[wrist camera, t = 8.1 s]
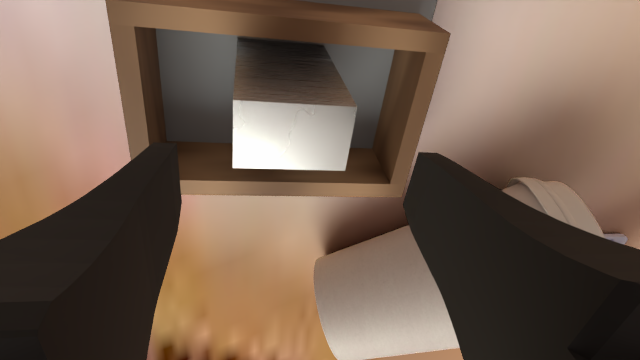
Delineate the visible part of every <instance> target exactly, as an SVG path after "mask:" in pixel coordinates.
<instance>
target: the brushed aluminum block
mask: <svg viewBox="0 0 640 360" xmlns="http://www.w3.org/2000/svg"><path fill="white" fill-rule="evenodd" d="M356 112H357V105H356V104H355V102H354V100H353V98H352V96H351V94H350V92H349V91H348V89H347V87H346V85H345V83H344V81H343V80H342V78H341V76H340V74H339V72H338V70H337V68H336V67H335V65H334V63H333V61H332V59H331V57H330V56H329V54H328V52H327V50H326V48H325V46H324V45H314V44H303V43H292V42H280V41H269V40H257V39H246V38H237V51H236V65H235V79H234V93H233V168H252V169H292V170H332V171H345V169H346V164H347V159H348V154H349V149H350V143H351V138H352V133H353V128H354V123H355V117H356Z"/></svg>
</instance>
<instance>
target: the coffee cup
mask: <svg viewBox="0 0 640 360" xmlns="http://www.w3.org/2000/svg"><path fill="white" fill-rule="evenodd" d="M501 191H503V192H505V193H506V194H508V195H510V196H512V197H514V198H515V199H517V200H519V201H521V202H523V203H524V204H526V205H528V206H530V207H532V208H534V209H536V210H538V211H540V212H543V213H545V214H547V215H549V216H551V217H553V218H555V219H558V220H560V221H562V222H564V223H567V224H569V225H572V226H574V227H577V228H579V229H582V230H584V231H587V232H589V233H592V234H595V235H597V236H600V237H603V238H605V236H604V234H603V232H602V230H601V228H600V226H599V225H598V223H597V221H596V219H595V218H594V216H593V215H592V213H591V211H590V210H589V209H588V207H587V206H586V204H585V203H584V202H583V201H582V199H581V198H580V197H579V196H578V195H577V194H576V193H575V192H574V191H573V190H572V189H571V188H570V187H568V186H567V185H565V184H564V183H562V182H559V181H544V182H543V181H541V180H539V179H536V178H528V177H519V178H512V179H510V180H509V182H508V185H507V188H506V189H503V190H501ZM314 290H315V297H316V303H317V308H318V313H319V317H320V321H321V325H322V328H323V331H324V334H325V337H326V339H327V342H328V344H329V347H330V349H331V351H332V352H333V354H334V356H335V357H336V358H337V359H338V360H364V359H372V358H380V357H388V356H396V355H404V354H412V353H421V352H428V351H437V350H445V349H453V348H460V347H459V343H458V340H457V337H456V334H455V331H454V328H453V325H452V322H451V319H450V317H449V314H448V311H447V308H446V305H445V302H444V300H443V298H442V295H441V293H440V291H439V288H438V286H437V284H436V282H435V280H434V278H433V276H432V274H431V272H430V270H429V268H428V266H427V264H426V262H425V260H424V258H423V256H422V254H421V251H420V249H419V247H418V245H417V243H416V241H415V239H414V237H413V234H412V232H411V230H410V227H409V225H407V226H404V227H402V228H399V229H396V230H394V231H391V232H388V233H386V234H383V235H380V236H377V237H375V238H372V239H369V240H367V241H364V242H361V243H358V244H356V245H353V246H350V247H348V248H345V249H342V250H339V251H337V252H334V253H331V254H329V255H326V256H323V257H320V258H318V259H317V260H316V262H315V266H314Z"/></svg>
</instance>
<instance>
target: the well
mask: <svg viewBox="0 0 640 360" xmlns="http://www.w3.org/2000/svg"><path fill="white" fill-rule="evenodd" d="M105 1H106V7H107V13H108V20H109V26H110V32H111V38H112V44H113V51H114V57H115V63H116V69H117V76H118V82H119V88H120V94H121V101H122V107H123V113H124V119H125V125H126V132H127V138H128V144H129V150H130V157H131V160H133V159H134V158H135V157H136V156H137V155H139V154H140V153H141V152H142V151H143V150H145V149H146V148H147V147H148V146H149V145H151V144H152V143H153V142H159V143H177V152H178V164H179V176H180V188H181V195H252V196H335V197H402V194H403V191H404V188H405V184H406V181H407V178H408V174H409V171H410V168H411V164H412V161H413V158H414V154H415V151H416V148H417V144H418V141H419V138H420V134H421V131H422V128H423V124H424V121H425V118H426V114H427V111H428V108H429V104H430V101H431V98H432V94H433V91H434V88H435V84H436V81H437V78H438V74H439V71H440V68H441V64H442V61H443V58H444V54H445V51H446V47H447V44H448V41H449V37H450V33H449V32H447V31H446V30H444V29H442V28H441V27H439V26H438V25H436V24H435V23H433V22H432V21H430V20H428V19H427V18H425V17H424V16H422V15H421V14H417V13H408V12H399V11H390V10H381V9H371V8H362V7H353V6H344V5H335V4H325V3H316V2H307V1H298V0H105ZM156 28H158V29H170V30H181V31H192V32H204V33H215V34H226V35H237V36H249V37H260V38H271V39H282V40H294V41H305V42H316V43H327V44H339V45H350V46H361V47H372V48H384V49H395V51H394V55H393V60H392V64H391V68H390V73H389V77H388V81H387V86H386V90H385V95H384V99H383V103H382V108H381V112H380V116H379V121H378V125H377V130H376V134H375V138H374V143H373V147H372V149H370V148H350V149H349V154H348V159H347V164H346V169H345V171H332V170H292V169H252V168H233V143H207V142H180V141H167V139H166V129H165V119H164V109H163V99H162V89H161V79H160V69H159V59H158V48H157V38H156Z"/></svg>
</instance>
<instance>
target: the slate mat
mask: <svg viewBox="0 0 640 360" xmlns="http://www.w3.org/2000/svg"><path fill="white" fill-rule="evenodd" d="M298 1H307V2H316V3H325V4H335V5H344V6H353V7H362V8H371V9H381V10H390V11H399V12H408V13H417V14H421V15H422V16H424V17H425V18H427V19H428V20H430V21H432V18H433V15H434V11H435V7H436V3H437V0H298ZM156 38H157V48H158V59H159V69H160V79H161V89H162V99H163V109H164V119H165V129H166V139H167V141H180V142H207V143H233V93H234V79H235V65H236V51H237V38H246V39H257V40H269V41H280V42H292V43H303V44H314V45H324V46H325V48H326V50H327V52H328V54H329V56H330V57H331V59H332V61H333V63H334V65H335V67H336V68H337V70H338V72H339V74H340V76H341V78H342V80H343V81H344V83H345V85H346V87H347V89H348V91H349V92H350V94H351V96H352V98H353V100H354V102H355V104H356V105H357V112H356V117H355V123H354V128H353V133H352V138H351V143H350V148H370V149H372V147H373V143H374V138H375V134H376V130H377V125H378V121H379V116H380V112H381V108H382V103H383V99H384V95H385V90H386V86H387V81H388V77H389V73H390V68H391V64H392V60H393V55H394V51H395V49H384V48H372V47H361V46H350V45H339V44H327V43H316V42H305V41H294V40H282V39H271V38H260V37H249V36H237V35H226V34H215V33H204V32H192V31H181V30H170V29H158V28H156Z"/></svg>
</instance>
